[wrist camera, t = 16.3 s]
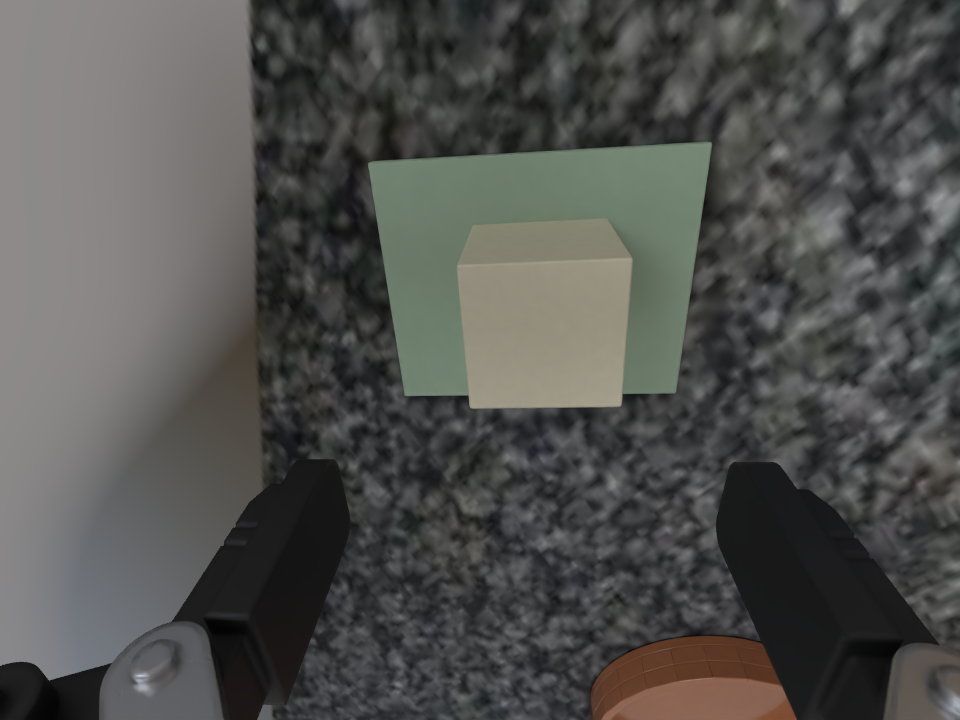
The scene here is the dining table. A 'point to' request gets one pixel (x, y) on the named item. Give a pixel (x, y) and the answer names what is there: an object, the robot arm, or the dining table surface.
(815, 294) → the dining table surface
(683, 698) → the terracotta dish
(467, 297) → the block
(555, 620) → the dining table surface
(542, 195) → the mat
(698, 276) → the dining table surface
